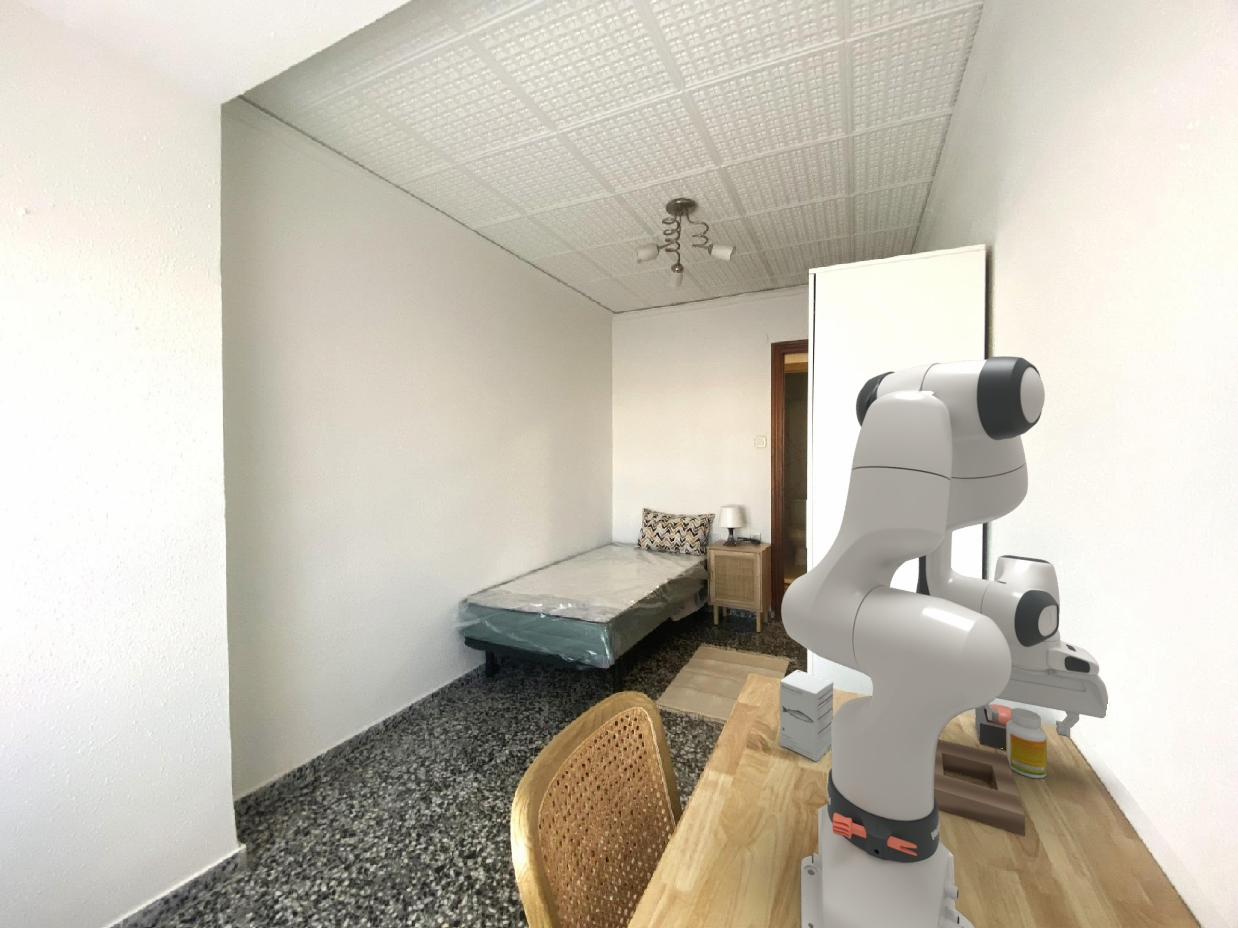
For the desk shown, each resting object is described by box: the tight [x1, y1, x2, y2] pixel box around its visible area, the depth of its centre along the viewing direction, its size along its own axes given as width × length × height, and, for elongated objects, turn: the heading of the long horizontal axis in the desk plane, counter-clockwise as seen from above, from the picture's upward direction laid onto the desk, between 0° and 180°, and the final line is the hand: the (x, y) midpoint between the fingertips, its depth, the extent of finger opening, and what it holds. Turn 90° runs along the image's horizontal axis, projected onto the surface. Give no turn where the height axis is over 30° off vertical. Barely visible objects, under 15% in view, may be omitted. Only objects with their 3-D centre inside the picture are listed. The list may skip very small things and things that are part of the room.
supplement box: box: [779, 669, 834, 762], centre depth 91 cm, size 7×7×13 cm
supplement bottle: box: [1005, 707, 1048, 779], centre depth 84 cm, size 5×5×10 cm
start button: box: [987, 703, 1013, 726], centre depth 92 cm, size 5×5×3 cm
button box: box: [974, 706, 1006, 750], centre depth 92 cm, size 8×8×4 cm
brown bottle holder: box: [934, 738, 1026, 837], centre depth 79 cm, size 16×12×3 cm
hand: (1027, 726), depth 84 cm, fingers open, 8 cm apart
